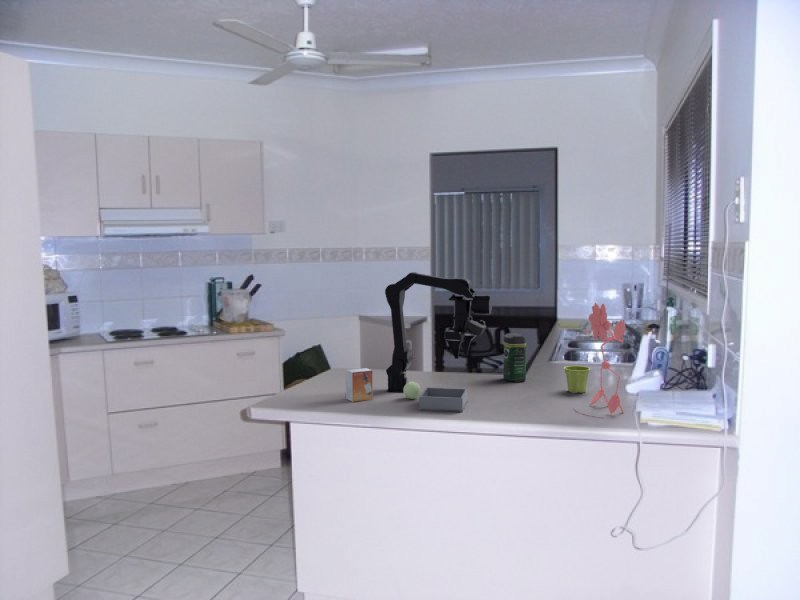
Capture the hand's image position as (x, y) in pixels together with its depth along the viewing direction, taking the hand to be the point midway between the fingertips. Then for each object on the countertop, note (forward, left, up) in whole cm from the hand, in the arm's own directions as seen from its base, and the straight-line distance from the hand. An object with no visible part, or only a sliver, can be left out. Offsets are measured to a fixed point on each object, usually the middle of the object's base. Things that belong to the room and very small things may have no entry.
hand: (461, 356), depth 241 cm
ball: (-16, -10, -14) cm, 23 cm away
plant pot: (+41, +11, -14) cm, 45 cm away
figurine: (+46, -16, -14) cm, 50 cm away
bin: (-4, -18, -14) cm, 23 cm away
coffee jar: (+18, +28, -14) cm, 36 cm away
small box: (-34, -14, -14) cm, 39 cm away
